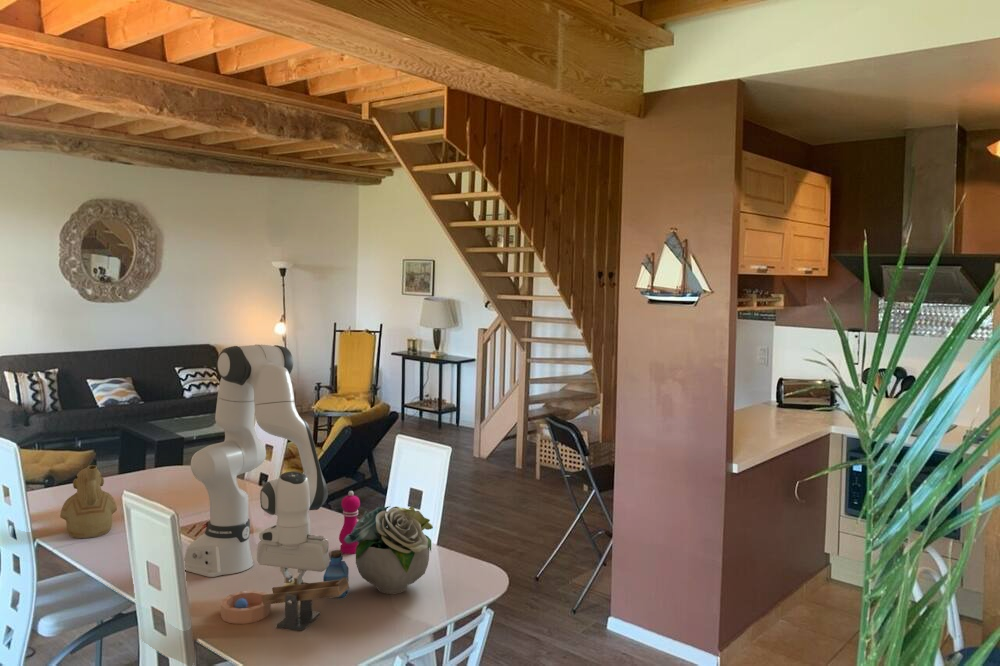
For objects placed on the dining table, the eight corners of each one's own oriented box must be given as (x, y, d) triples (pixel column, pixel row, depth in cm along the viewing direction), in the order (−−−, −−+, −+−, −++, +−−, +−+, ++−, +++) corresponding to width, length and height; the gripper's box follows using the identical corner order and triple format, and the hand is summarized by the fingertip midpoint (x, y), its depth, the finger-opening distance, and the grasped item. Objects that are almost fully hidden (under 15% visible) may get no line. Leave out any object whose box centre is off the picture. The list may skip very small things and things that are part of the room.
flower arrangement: (398, 615, 198) (400, 525, 197) (330, 592, 212) (331, 508, 210) (452, 584, 219) (454, 503, 218) (387, 565, 233) (389, 489, 231)
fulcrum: (276, 627, 189) (276, 595, 189) (296, 611, 199) (296, 580, 198) (301, 631, 187) (301, 598, 187) (320, 615, 197) (320, 583, 196)
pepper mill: (356, 555, 241) (357, 494, 239) (335, 553, 242) (336, 493, 241) (364, 548, 248) (365, 489, 246) (344, 545, 249) (345, 487, 248)
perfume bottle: (326, 588, 214) (327, 548, 213) (348, 588, 215) (348, 548, 214) (323, 598, 208) (323, 556, 207) (345, 597, 208) (346, 556, 208)
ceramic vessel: (113, 521, 267) (113, 452, 266) (120, 537, 251) (120, 464, 249) (58, 528, 258) (58, 457, 256) (62, 546, 242) (61, 470, 240)
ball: (234, 614, 196) (230, 602, 196) (241, 609, 199) (237, 597, 199) (244, 611, 195) (240, 600, 195) (251, 606, 198) (247, 595, 198)
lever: (263, 604, 192) (261, 593, 192) (290, 584, 205) (288, 574, 205) (339, 596, 187) (337, 584, 187) (362, 576, 200) (360, 565, 200)
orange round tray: (210, 620, 192) (211, 606, 192) (239, 600, 204) (239, 588, 204) (253, 626, 189) (253, 613, 189) (279, 606, 201) (279, 594, 201)
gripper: (333, 533, 202) (333, 583, 202) (266, 526, 207) (266, 575, 207) (322, 540, 196) (322, 591, 196) (253, 533, 200) (253, 583, 201)
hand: (293, 583), depth 202 cm, fingers closed
